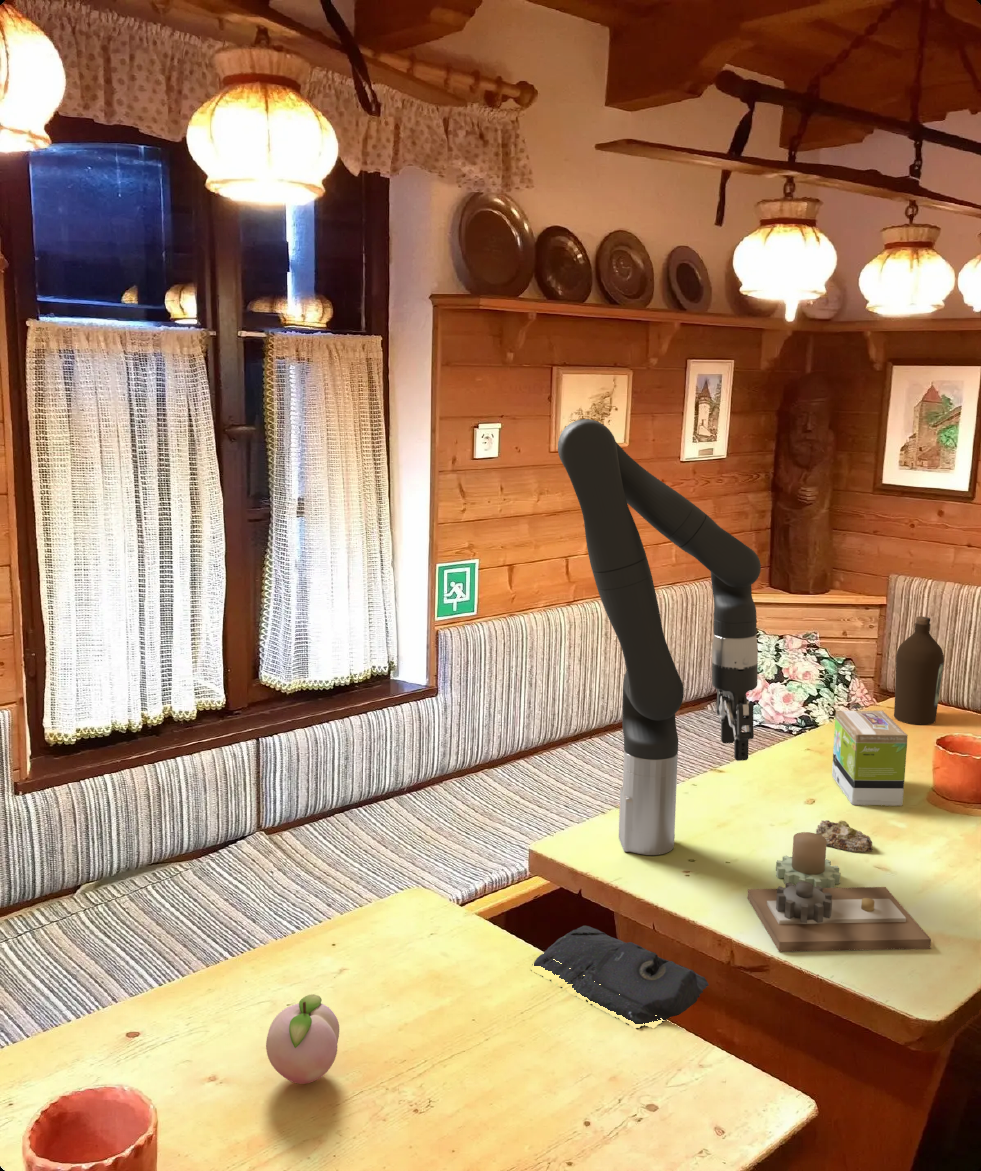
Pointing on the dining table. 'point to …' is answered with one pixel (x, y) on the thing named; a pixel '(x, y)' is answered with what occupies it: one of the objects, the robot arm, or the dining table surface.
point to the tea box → (869, 757)
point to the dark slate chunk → (622, 975)
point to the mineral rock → (844, 836)
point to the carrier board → (835, 919)
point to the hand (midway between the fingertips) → (734, 751)
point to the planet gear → (808, 862)
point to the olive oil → (918, 676)
